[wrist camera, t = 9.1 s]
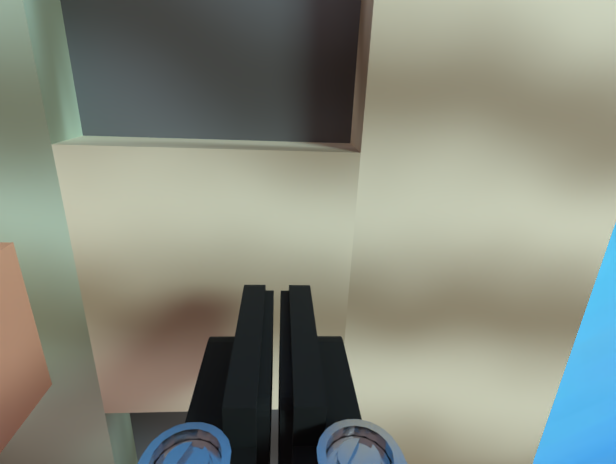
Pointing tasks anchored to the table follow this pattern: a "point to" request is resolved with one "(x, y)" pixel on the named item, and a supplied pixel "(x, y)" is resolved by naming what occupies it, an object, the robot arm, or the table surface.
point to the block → (18, 349)
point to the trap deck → (307, 205)
